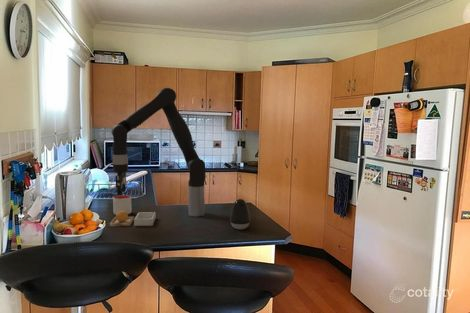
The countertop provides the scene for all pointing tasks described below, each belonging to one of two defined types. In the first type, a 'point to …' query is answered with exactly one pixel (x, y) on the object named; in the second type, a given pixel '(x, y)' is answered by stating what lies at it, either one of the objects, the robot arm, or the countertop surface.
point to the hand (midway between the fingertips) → (121, 193)
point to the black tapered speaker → (240, 215)
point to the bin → (144, 219)
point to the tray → (125, 223)
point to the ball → (122, 216)
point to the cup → (122, 204)
